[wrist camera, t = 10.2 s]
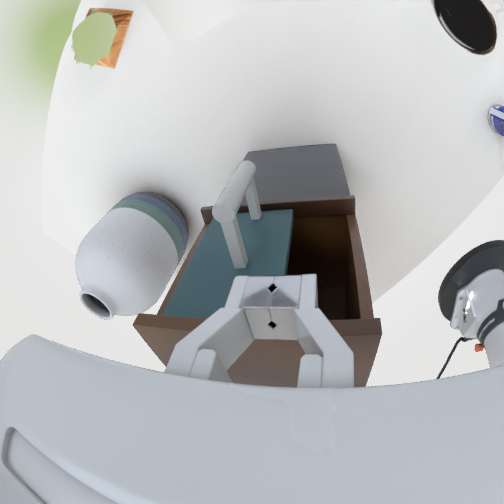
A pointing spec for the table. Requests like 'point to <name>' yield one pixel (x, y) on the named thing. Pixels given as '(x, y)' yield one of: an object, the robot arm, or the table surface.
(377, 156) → the table surface
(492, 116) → the pill bottle
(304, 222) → the cabinet
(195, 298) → the sliding door
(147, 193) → the vase
